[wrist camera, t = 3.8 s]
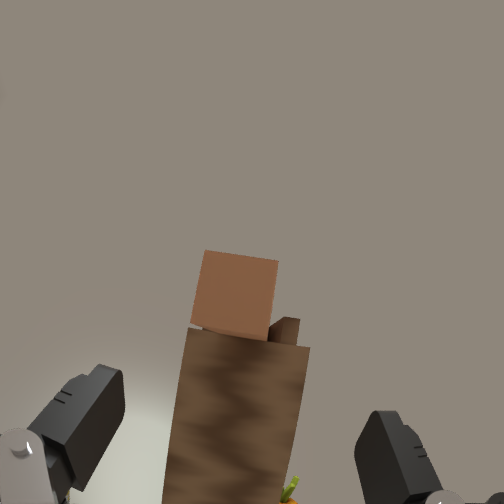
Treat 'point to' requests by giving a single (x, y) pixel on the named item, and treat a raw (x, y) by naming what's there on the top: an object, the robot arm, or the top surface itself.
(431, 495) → the robot arm
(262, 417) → the stand
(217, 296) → the bar
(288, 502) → the carrot
